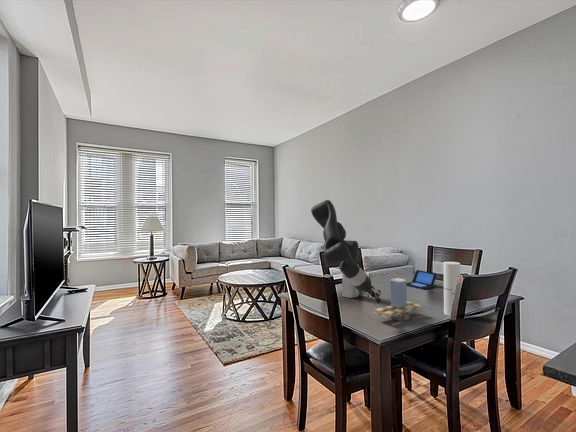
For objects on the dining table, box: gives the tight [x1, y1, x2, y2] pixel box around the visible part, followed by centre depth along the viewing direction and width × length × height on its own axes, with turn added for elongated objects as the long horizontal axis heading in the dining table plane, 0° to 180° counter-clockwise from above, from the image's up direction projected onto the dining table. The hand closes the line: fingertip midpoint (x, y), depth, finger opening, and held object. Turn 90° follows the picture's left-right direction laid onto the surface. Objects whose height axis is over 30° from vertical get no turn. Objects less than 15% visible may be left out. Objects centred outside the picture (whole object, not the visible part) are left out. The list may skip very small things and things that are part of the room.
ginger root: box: [372, 300, 422, 323], centre depth 144 cm, size 24×8×5 cm, turn 120°
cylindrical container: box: [442, 261, 461, 317], centre depth 148 cm, size 7×7×25 cm
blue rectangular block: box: [389, 277, 408, 309], centre depth 144 cm, size 5×5×14 cm
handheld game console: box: [406, 269, 438, 291], centre depth 202 cm, size 16×13×9 cm
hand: (378, 301), depth 138 cm, fingers closed
